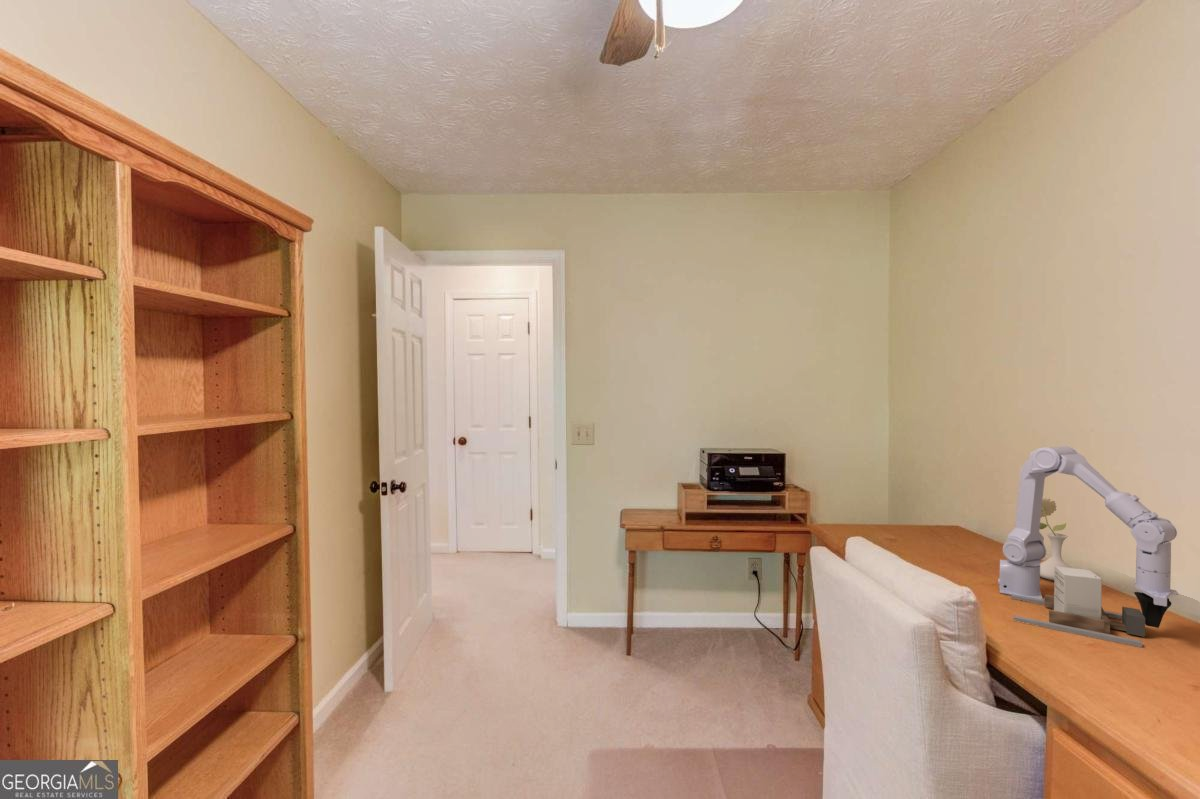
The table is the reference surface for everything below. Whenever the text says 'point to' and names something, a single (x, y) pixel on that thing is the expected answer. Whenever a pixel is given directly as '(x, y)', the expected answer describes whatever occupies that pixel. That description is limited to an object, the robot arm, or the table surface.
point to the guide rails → (1073, 629)
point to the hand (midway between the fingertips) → (1151, 625)
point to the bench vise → (1099, 620)
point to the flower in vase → (1052, 542)
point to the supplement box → (1077, 592)
